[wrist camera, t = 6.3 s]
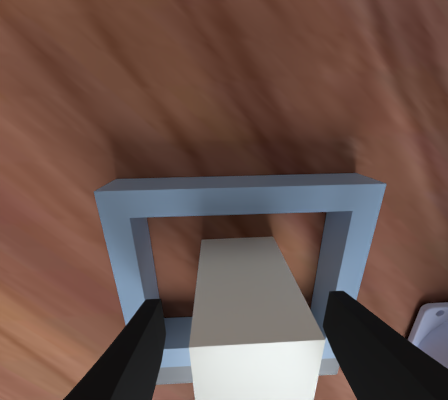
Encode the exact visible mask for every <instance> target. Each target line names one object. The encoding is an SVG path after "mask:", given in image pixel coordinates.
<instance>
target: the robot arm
mask: <svg viewBox="0 0 448 400" xmlns="http://www.w3.org/2000/svg"><path fill="white" fill-rule="evenodd" d="M323 329H324V332H325V334H326V337H327V339H328V342H329V344H330V347H331V349H332V352H333V354H334V356H335V358H336V360H337V362H338V364H339V365H340V367H341V369H342V371H343V373H344V375H345V377H346V379H347V381H348V383H349V385H350V387H351V388H352V390H353V392H354V394H355V396H356V398H357V400H448V302H445V303H427V304H425V305H423V306H422V307H421V308H420V310H419V313H418V315H417V318H416V320H415V323H414V325H413V328H412V330H411V332H410V335H409V337H408V340H407V339H406V338H404V337H403V336H402V335H400V334H399V333H398V332H396V331H395V330H394V329H392V328H391V327H390V326H388V325H387V324H386V323H385V322H383V321H382V320H381V319H379V318H378V317H377V316H376V315H374V314H373V313H372V312H370V311H369V310H368V309H367V308H365V307H364V306H363V305H361V304H360V303H359V302H358V301H356V300H355V299H354V298H352V297H351V296H350V295H349V294H347V293H346V292H344V291H329V296H328V301H327V306H326V311H325V316H324V321H323ZM165 338H166V329H165V323H164V316H163V309H162V303H161V299H146V300H145V301H144V302H143V303H142V305H141V306H140V307H139V309H138V310H137V311H136V313H135V314H134V316H133V317H132V318H131V320H130V321H129V322H128V323H127V325H126V326H125V327H124V329H123V330H122V331H121V333H120V334H119V335H118V336H117V338H116V339H115V340H114V341H113V343H112V344H111V345H110V346H109V348H108V349H107V350H106V351H105V353H104V354H103V355H102V356H101V357H100V358H99V360H98V361H97V362H96V363H95V364H94V365H93V367H92V368H91V369H90V370H89V371H88V372H87V374H86V375H85V376H84V377H83V378H82V379H81V381H80V382H79V383H78V384H77V385H76V386H75V387H74V388H73V389H72V390H71V392H70V393H69V394H68V395H67V396H66V397H65V398H64V399H63V400H152V397H153V393H154V389H155V386H156V382H157V378H158V374H159V370H160V366H161V362H162V357H163V351H164V345H165Z"/></svg>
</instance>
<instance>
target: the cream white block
mask: <svg viewBox="0 0 448 400" xmlns="http://www.w3.org/2000/svg"><path fill="white" fill-rule="evenodd" d="M324 345H325V338H324V336H323V334H322V332H321V330H320V328H319V326H318V324H317V322H316V320H315V318H314V316H313V314H312V312H311V310H310V308H309V306H308V304H307V302H306V300H305V298H304V296H303V294H302V293H301V291H300V289H299V287H298V285H297V283H296V281H295V279H294V277H293V275H292V273H291V271H290V269H289V267H288V265H287V263H286V261H285V259H284V257H283V255H282V253H281V251H280V249H279V247H278V245H277V243H276V241H275V239H274V237H251V238H227V239H204V240H202V241H201V249H200V258H199V266H198V275H197V283H196V291H195V300H194V308H193V317H192V325H191V334H190V342H189V353H190V361H191V370H192V378H193V387H194V395H195V400H314V395H315V390H316V385H317V380H318V375H319V370H320V365H321V360H322V355H323V350H324Z"/></svg>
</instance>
